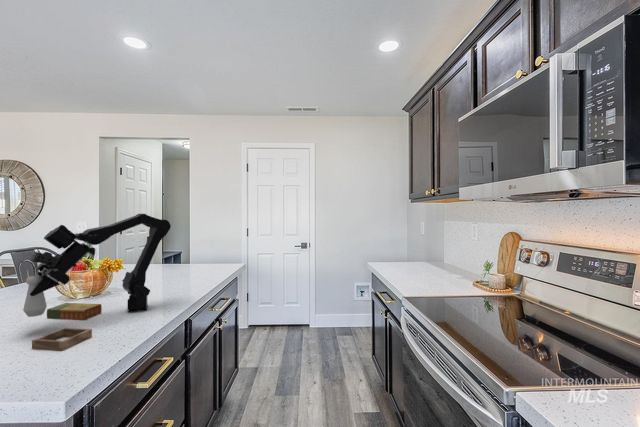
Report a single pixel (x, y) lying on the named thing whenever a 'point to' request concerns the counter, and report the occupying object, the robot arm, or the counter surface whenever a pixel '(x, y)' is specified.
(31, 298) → the salt shaker
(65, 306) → the carton
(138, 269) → the robot arm
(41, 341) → the walnut frame
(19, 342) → the counter surface
